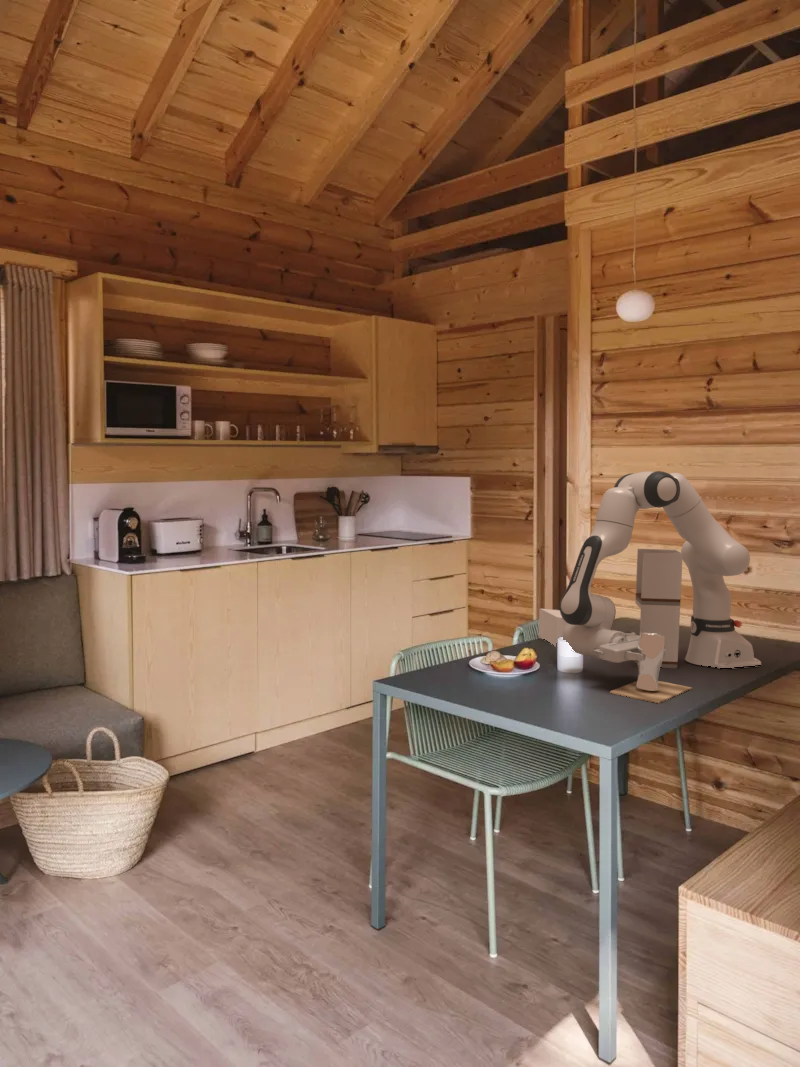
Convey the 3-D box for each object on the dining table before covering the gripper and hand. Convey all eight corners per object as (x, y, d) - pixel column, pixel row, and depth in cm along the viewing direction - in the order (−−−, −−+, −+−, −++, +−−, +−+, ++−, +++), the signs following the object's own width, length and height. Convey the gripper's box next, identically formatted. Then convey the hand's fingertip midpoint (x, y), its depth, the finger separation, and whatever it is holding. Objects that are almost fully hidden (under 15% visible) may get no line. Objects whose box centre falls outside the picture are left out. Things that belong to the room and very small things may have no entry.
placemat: (644, 679, 249) (644, 678, 249) (691, 689, 240) (691, 687, 240) (609, 693, 235) (610, 691, 235) (658, 703, 225) (658, 702, 225)
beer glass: (662, 690, 237) (668, 635, 238) (656, 692, 231) (662, 636, 232) (637, 685, 241) (642, 631, 241) (630, 687, 235) (636, 632, 235)
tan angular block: (552, 634, 310) (553, 606, 309) (619, 650, 287) (620, 619, 286) (524, 639, 301) (525, 610, 300) (590, 656, 278) (592, 624, 277)
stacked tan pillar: (670, 660, 274) (675, 549, 271) (677, 668, 263) (682, 553, 260) (633, 658, 275) (637, 548, 272) (638, 666, 265) (643, 552, 261)
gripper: (589, 639, 240) (631, 648, 229) (634, 631, 253) (676, 639, 242) (588, 662, 241) (630, 672, 230) (633, 652, 253) (675, 661, 243)
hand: (654, 655), depth 236 cm, fingers open, 8 cm apart
